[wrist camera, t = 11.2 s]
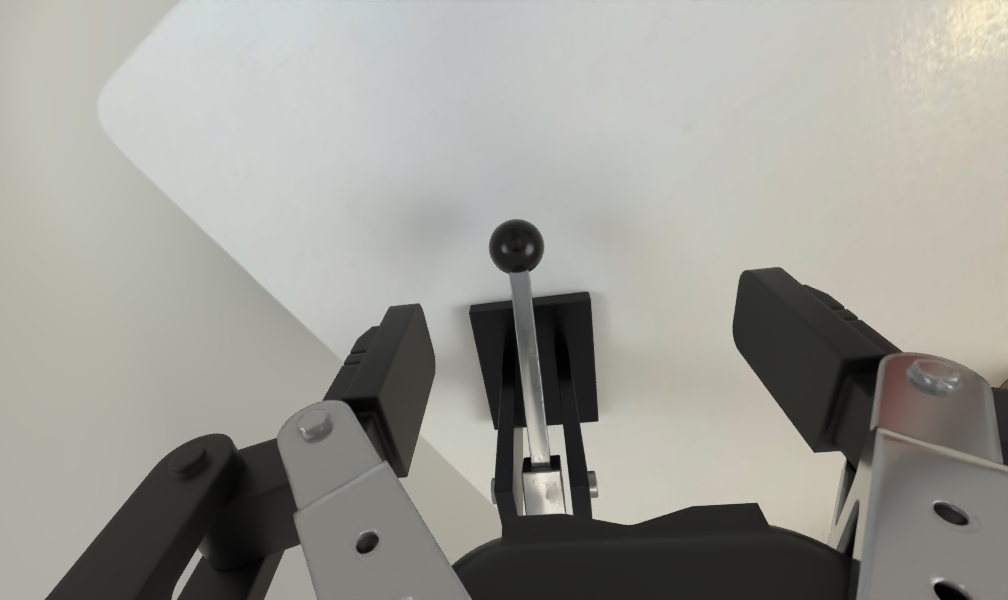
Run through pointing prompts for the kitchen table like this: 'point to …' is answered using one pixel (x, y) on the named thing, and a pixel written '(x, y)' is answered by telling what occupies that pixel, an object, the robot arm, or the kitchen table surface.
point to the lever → (529, 364)
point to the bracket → (563, 384)
